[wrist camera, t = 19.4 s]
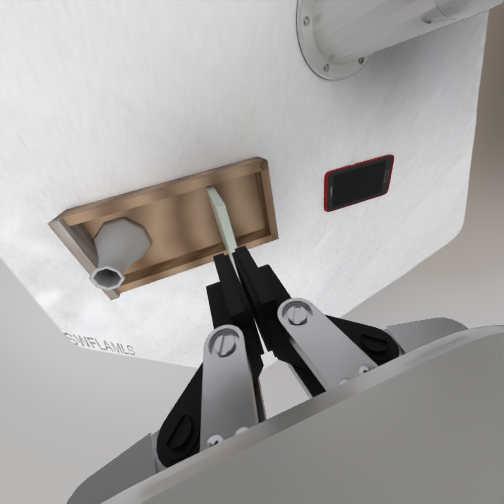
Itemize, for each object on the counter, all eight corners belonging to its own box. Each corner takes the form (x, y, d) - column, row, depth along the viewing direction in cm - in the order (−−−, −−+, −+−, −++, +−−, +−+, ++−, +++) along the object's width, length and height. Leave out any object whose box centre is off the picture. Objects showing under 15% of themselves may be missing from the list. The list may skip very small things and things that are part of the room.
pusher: (211, 182, 31) (225, 204, 22) (228, 239, 37) (245, 275, 28) (204, 184, 31) (216, 207, 22) (222, 241, 36) (237, 277, 28)
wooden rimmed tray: (257, 156, 33) (269, 161, 28) (270, 229, 40) (280, 241, 36) (65, 209, 28) (47, 223, 24) (118, 280, 36) (110, 300, 32)
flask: (125, 268, 34) (109, 313, 26) (83, 236, 30) (48, 278, 22) (161, 242, 34) (157, 280, 25) (124, 207, 29) (104, 238, 21)
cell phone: (384, 192, 44) (388, 193, 43) (322, 211, 42) (325, 213, 41) (391, 153, 40) (395, 153, 39) (323, 172, 38) (326, 172, 37)
